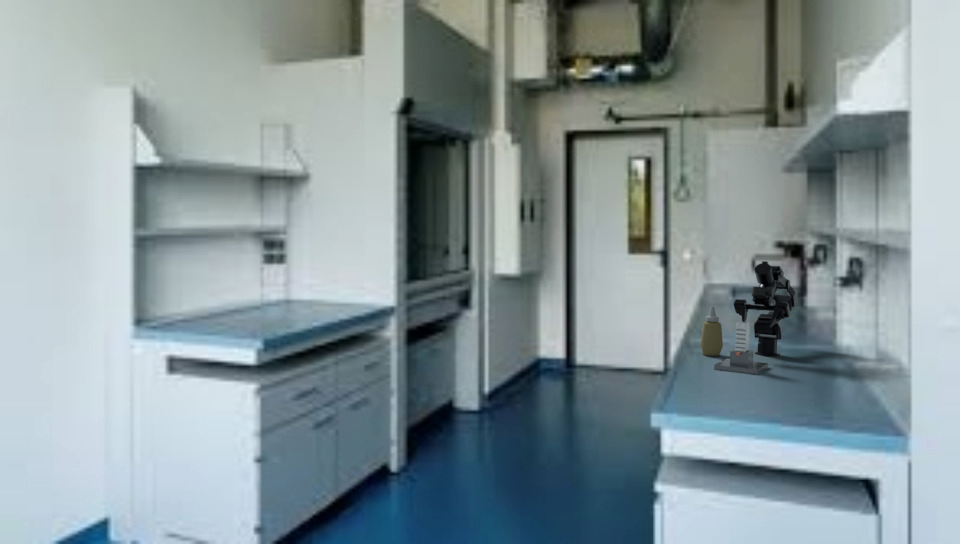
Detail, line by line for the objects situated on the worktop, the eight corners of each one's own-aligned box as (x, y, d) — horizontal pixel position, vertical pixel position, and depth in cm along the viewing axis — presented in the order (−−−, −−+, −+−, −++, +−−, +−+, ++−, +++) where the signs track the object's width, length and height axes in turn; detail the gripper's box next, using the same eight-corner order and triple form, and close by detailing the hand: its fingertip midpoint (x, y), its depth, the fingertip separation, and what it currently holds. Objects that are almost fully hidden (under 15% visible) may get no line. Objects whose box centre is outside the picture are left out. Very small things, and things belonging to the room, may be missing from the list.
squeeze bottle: (725, 357, 276) (726, 308, 275) (703, 356, 276) (704, 308, 275) (718, 353, 284) (720, 305, 283) (697, 352, 284) (698, 305, 283)
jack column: (738, 350, 257) (738, 321, 256) (748, 352, 255) (749, 322, 254) (734, 352, 254) (735, 322, 253) (745, 353, 252) (746, 323, 251)
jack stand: (726, 362, 265) (727, 346, 264) (768, 367, 257) (768, 350, 256) (714, 369, 253) (714, 351, 253) (756, 374, 245) (757, 356, 245)
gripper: (735, 277, 276) (725, 309, 268) (789, 279, 266) (780, 313, 257) (741, 296, 283) (731, 329, 275) (793, 300, 273) (785, 333, 264)
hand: (756, 326), depth 268 cm, fingers open, 9 cm apart
